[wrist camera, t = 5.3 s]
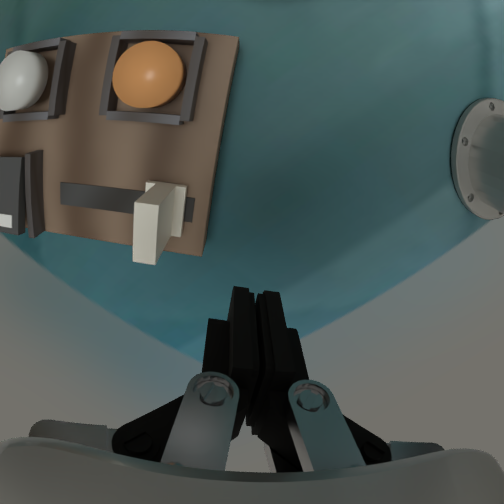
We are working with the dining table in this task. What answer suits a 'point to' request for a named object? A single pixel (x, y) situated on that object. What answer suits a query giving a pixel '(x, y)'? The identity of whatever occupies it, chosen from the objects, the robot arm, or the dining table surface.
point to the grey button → (22, 80)
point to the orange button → (149, 75)
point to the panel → (119, 136)
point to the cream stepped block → (157, 219)
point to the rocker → (12, 195)
